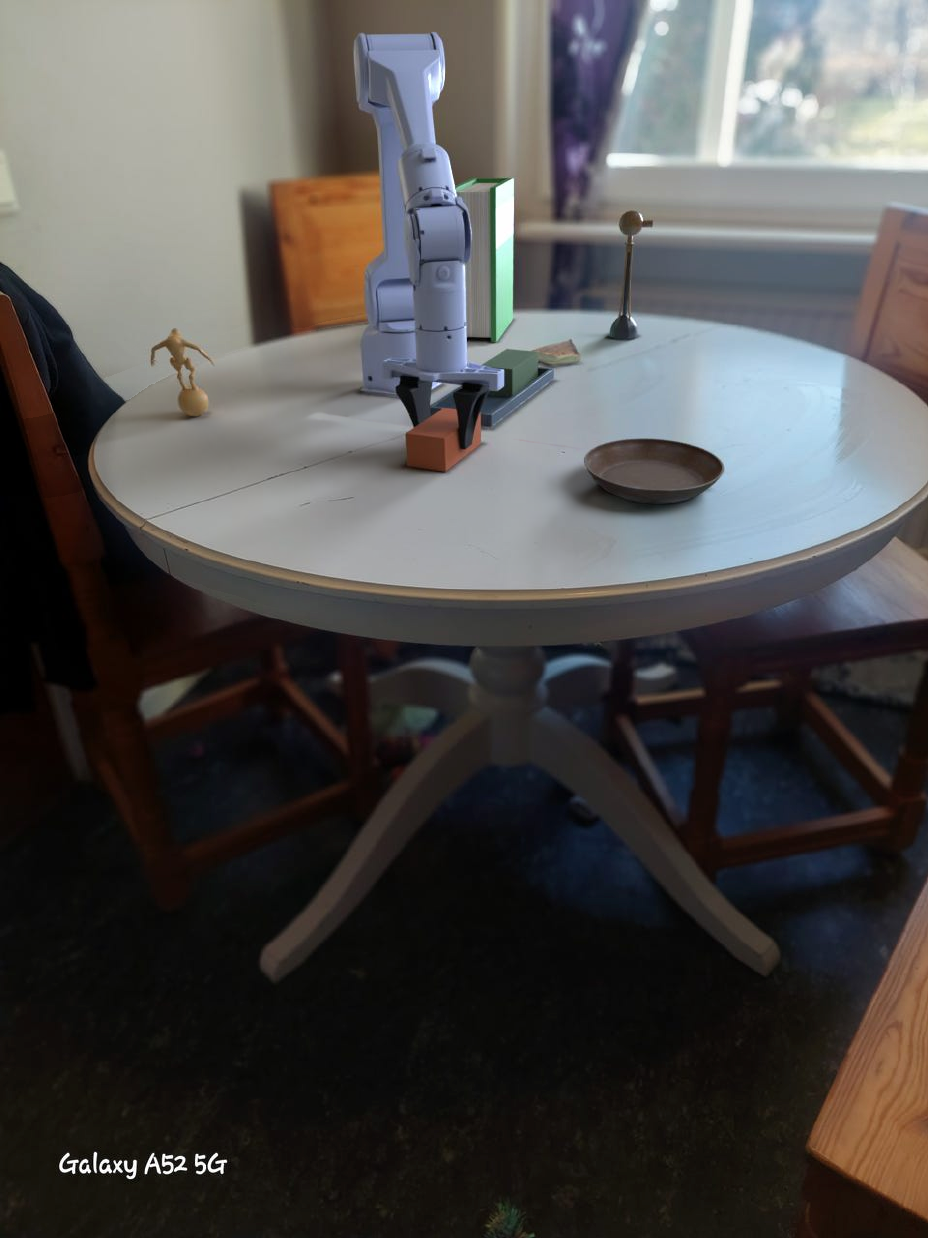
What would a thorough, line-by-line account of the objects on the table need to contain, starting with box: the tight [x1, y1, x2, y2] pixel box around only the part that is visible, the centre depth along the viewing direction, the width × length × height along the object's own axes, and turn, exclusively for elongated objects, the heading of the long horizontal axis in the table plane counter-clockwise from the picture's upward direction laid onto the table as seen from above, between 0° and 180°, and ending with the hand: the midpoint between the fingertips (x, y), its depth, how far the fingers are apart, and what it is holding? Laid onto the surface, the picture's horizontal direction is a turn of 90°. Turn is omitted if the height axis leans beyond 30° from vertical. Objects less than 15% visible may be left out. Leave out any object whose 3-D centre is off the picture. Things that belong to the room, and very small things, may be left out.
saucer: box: [583, 437, 726, 505], centre depth 94 cm, size 15×15×3 cm
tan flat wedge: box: [531, 338, 581, 366], centre depth 140 cm, size 11×8×2 cm
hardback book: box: [455, 177, 515, 343], centre depth 152 cm, size 18×7×24 cm, turn 168°
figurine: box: [150, 328, 215, 417], centre depth 115 cm, size 8×6×12 cm
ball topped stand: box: [608, 209, 654, 340], centre depth 147 cm, size 6×5×20 cm
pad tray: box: [430, 366, 555, 428], centre depth 122 cm, size 9×23×2 cm, turn 155°
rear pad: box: [481, 348, 539, 398], centre depth 125 cm, size 5×10×4 cm, turn 155°
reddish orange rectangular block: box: [405, 408, 482, 473], centre depth 103 cm, size 5×10×4 cm, turn 155°
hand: (444, 443), depth 103 cm, fingers closed on reddish orange rectangular block, 5 cm apart
